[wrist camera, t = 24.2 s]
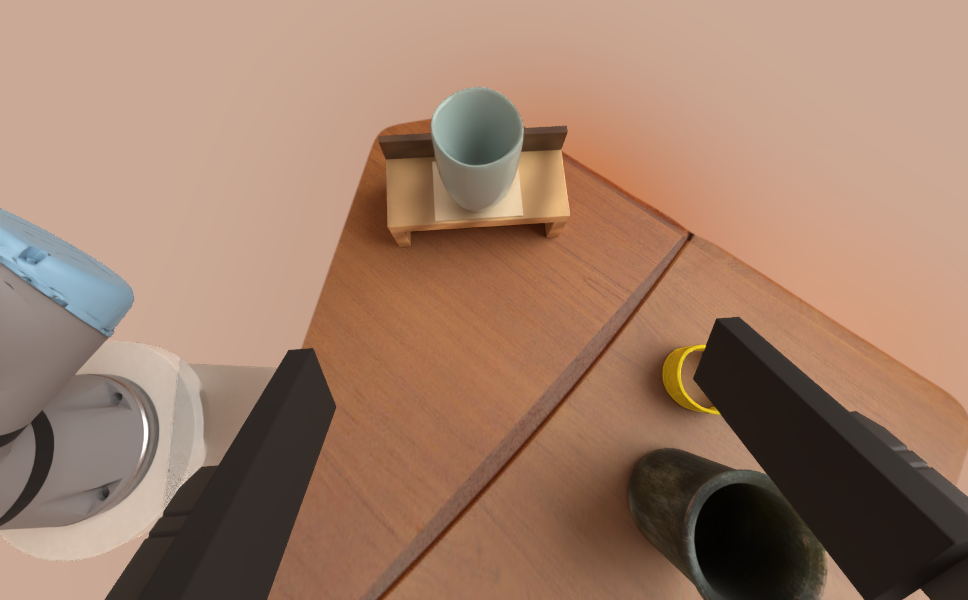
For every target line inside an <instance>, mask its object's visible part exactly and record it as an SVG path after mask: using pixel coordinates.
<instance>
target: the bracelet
mask: <svg viewBox="0 0 968 600" xmlns="http://www.w3.org/2000/svg"><path fill="white" fill-rule="evenodd" d="M705 347H706V345H695V346H688V347H682V348H679V349H676V350H674V351H673V352H672V353H670V354H669V356H668V357H667V358H666V360H665V362H664V365H663V370H662V377H663V383H664V386H665V388H666V390H667V392H668V394H669V395H670V396H671V397H672V399H673V400H674V401H676V402H677V403H678V404H679V405H681V406H683V407H685V408H687V409H690V410H693V411H697V412H702V413H709V414H717V415H721V414H720V413H719V412H718V410H717V409H716V408H715V406H713V407H710V408H704V407H701V406H700V405H698V404H697V403H695V402H694V401H693V400H692V399H691V398H690V397H689V396H688V395H687V393H686V391H685V390H684V388H683V386H682V382H681V373H680V372H681V366H682V363H683V360H684V359H685V357H686V356H687V354H688V353H690V352H691V351H693V350H696V351H704V349H705Z"/></svg>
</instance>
